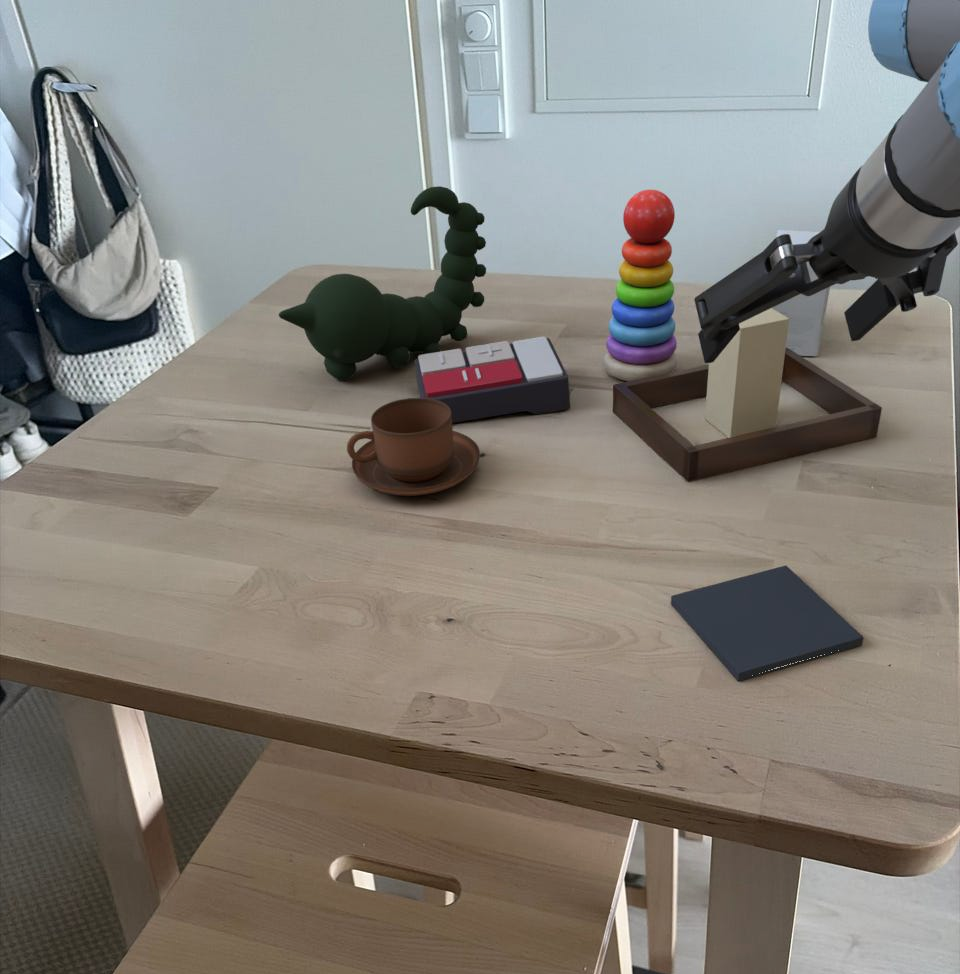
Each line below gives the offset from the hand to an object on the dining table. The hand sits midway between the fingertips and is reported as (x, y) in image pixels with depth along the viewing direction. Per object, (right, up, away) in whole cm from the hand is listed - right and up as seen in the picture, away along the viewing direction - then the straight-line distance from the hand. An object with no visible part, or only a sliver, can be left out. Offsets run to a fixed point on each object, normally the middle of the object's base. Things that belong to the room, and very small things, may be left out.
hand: (779, 337), depth 90 cm
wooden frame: (0, -5, +12) cm, 13 cm away
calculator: (-25, -1, +20) cm, 32 cm away
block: (0, -5, +12) cm, 13 cm away
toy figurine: (-36, +6, +29) cm, 47 cm away
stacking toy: (-9, +3, +23) cm, 25 cm away
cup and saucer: (-32, -11, +8) cm, 35 cm away
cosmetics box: (+9, +8, +27) cm, 30 cm away
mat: (-5, -25, -14) cm, 29 cm away
